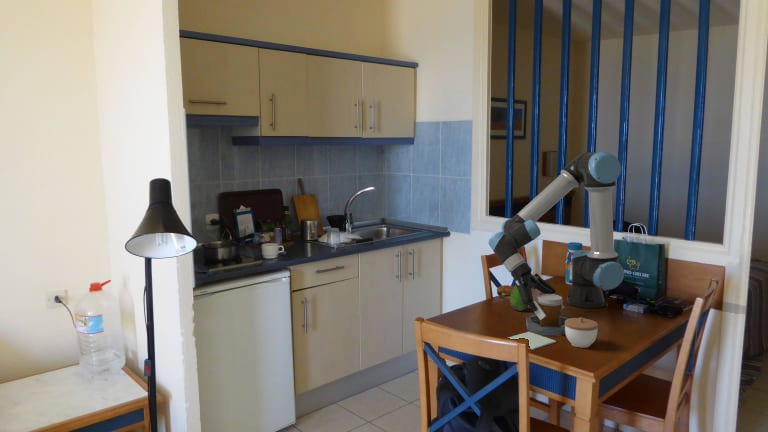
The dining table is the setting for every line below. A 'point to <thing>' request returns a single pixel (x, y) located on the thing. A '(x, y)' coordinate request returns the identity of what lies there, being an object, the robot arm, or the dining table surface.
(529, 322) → the grey shallow tray
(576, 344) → the lidded jar
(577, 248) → the beverage bottle
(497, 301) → the dining table surface
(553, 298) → the disposable coffee cup
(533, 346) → the sage mat
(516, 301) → the avocado
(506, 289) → the burger
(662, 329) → the dining table surface
